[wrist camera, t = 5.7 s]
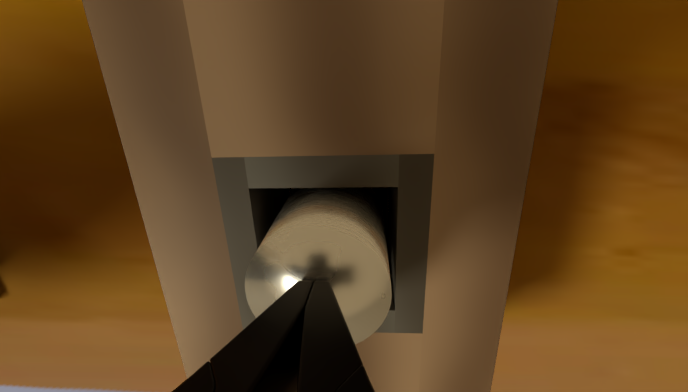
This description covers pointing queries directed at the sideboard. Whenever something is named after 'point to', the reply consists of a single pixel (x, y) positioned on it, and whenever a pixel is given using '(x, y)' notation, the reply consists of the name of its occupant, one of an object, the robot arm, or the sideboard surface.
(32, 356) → the sideboard surface
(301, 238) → the metal peg
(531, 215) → the sideboard surface
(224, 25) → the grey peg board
